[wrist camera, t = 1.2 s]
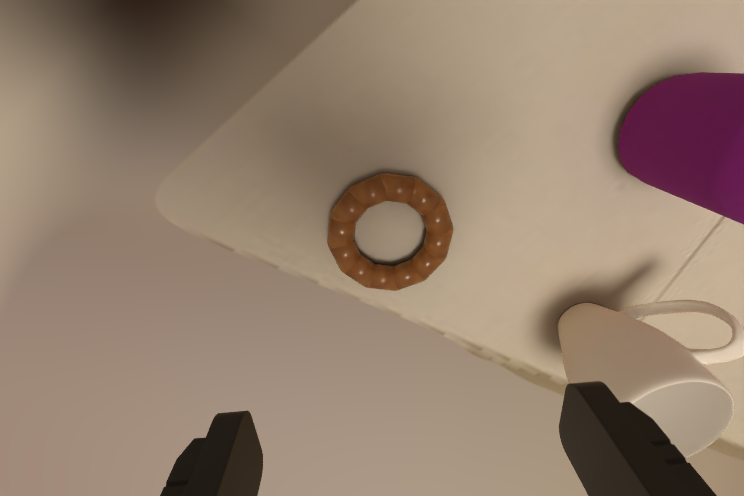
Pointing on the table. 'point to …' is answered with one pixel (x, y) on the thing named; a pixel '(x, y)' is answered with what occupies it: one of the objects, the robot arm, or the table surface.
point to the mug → (653, 367)
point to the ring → (376, 193)
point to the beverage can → (690, 140)
